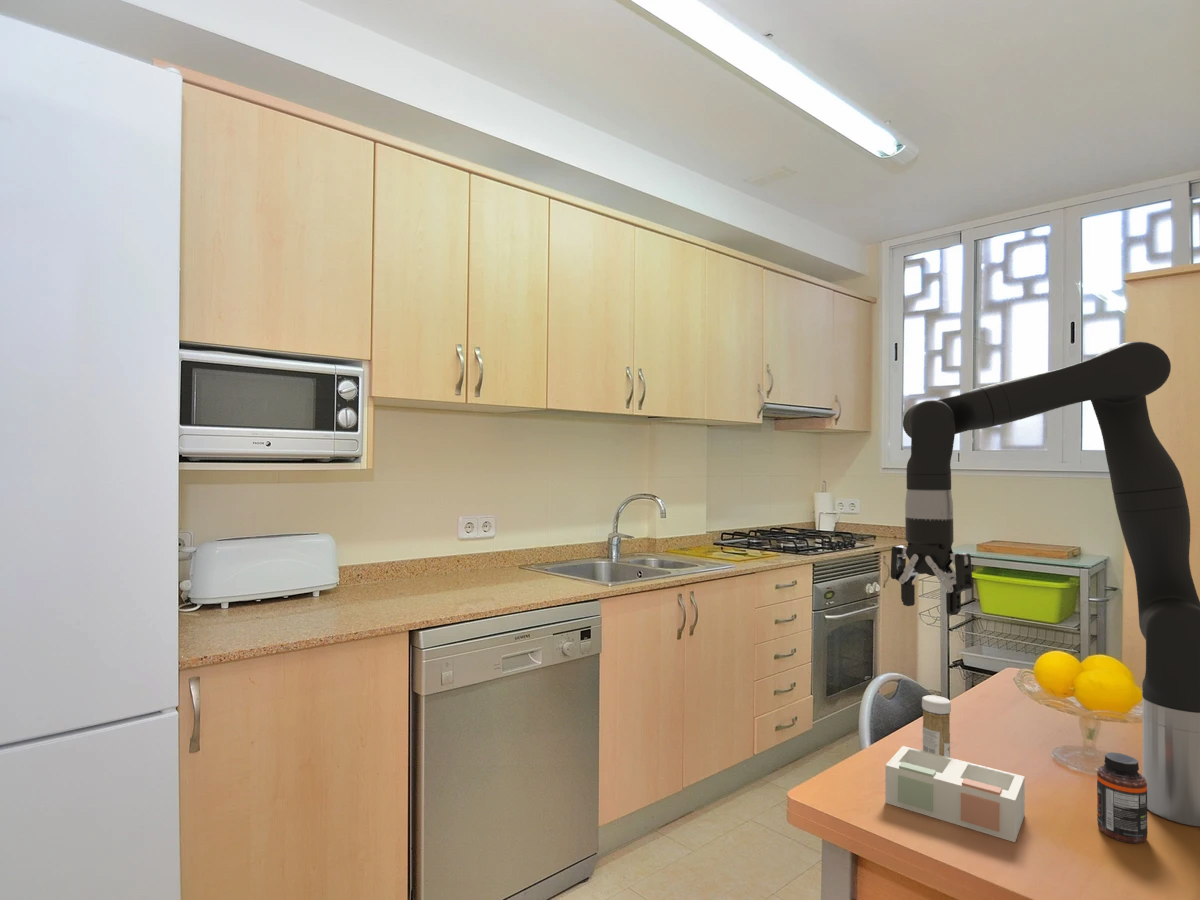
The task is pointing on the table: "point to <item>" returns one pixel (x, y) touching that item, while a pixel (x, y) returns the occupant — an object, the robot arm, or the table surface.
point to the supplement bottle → (1122, 799)
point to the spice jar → (936, 725)
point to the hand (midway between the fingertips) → (929, 609)
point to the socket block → (956, 792)
